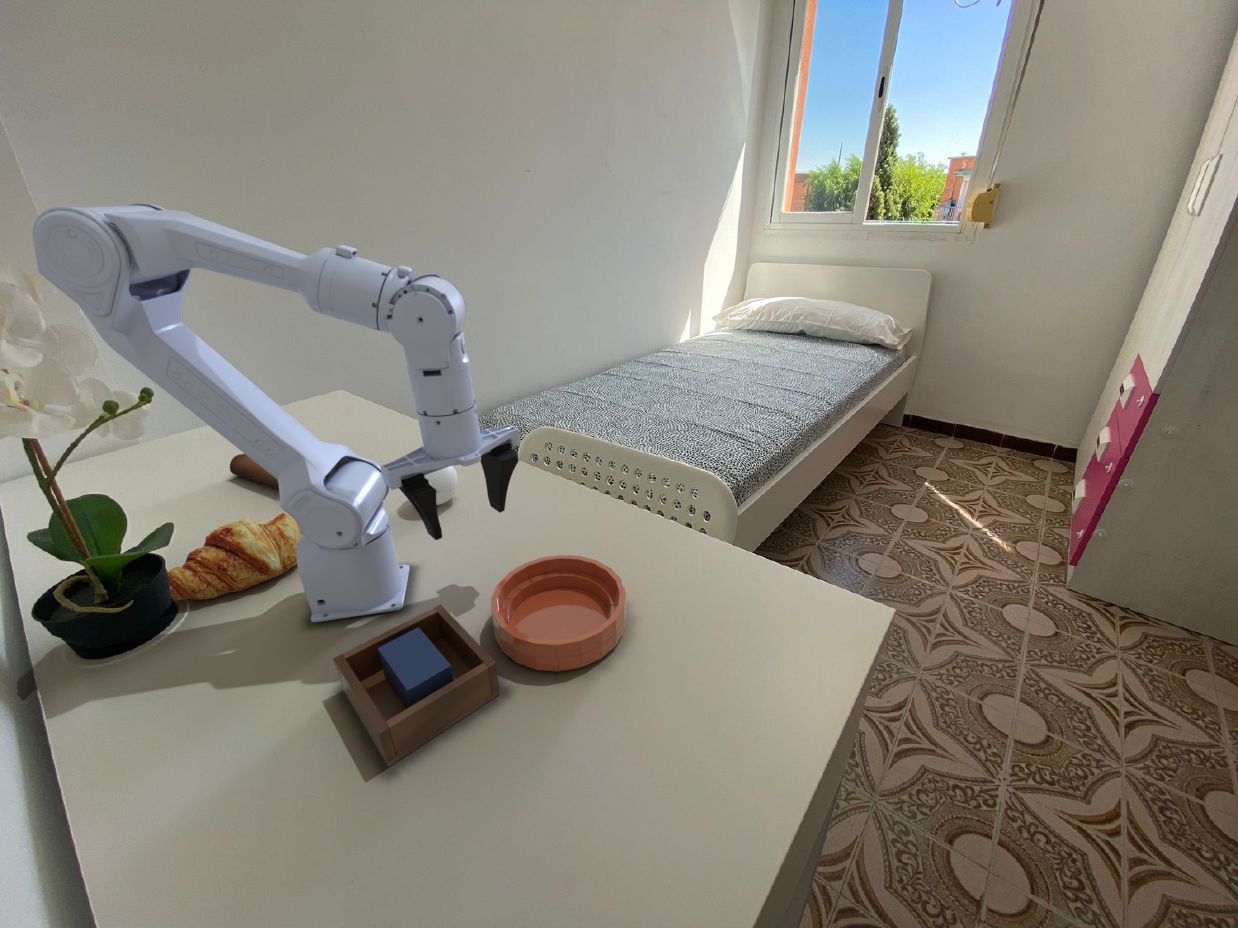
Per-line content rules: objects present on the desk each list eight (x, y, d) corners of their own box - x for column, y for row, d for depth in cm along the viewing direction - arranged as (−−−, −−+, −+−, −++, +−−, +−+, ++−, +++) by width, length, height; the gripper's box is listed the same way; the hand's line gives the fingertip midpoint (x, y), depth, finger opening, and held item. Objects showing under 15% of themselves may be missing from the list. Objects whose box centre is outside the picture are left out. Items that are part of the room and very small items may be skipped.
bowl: (497, 686, 52) (493, 655, 50) (493, 591, 64) (490, 564, 62) (639, 660, 55) (640, 630, 53) (610, 574, 67) (610, 547, 65)
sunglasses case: (350, 477, 88) (323, 453, 83) (323, 514, 85) (292, 491, 80) (279, 455, 95) (250, 432, 90) (252, 488, 92) (219, 466, 87)
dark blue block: (415, 722, 48) (407, 690, 46) (385, 679, 52) (376, 648, 50) (457, 696, 50) (451, 665, 48) (425, 657, 54) (418, 626, 53)
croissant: (339, 544, 78) (316, 492, 77) (365, 538, 71) (339, 482, 70) (159, 623, 63) (127, 560, 62) (168, 626, 56) (133, 556, 55)
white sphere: (441, 485, 87) (434, 443, 84) (471, 500, 83) (465, 457, 79) (383, 511, 80) (373, 466, 77) (412, 529, 76) (403, 482, 72)
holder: (388, 767, 45) (378, 733, 43) (343, 689, 52) (332, 658, 50) (500, 694, 51) (496, 662, 49) (446, 633, 58) (440, 603, 56)
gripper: (389, 439, 47) (420, 565, 53) (530, 397, 56) (542, 510, 62) (360, 417, 52) (391, 536, 58) (494, 382, 60) (508, 488, 67)
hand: (467, 521), depth 60 cm, fingers open, 7 cm apart
